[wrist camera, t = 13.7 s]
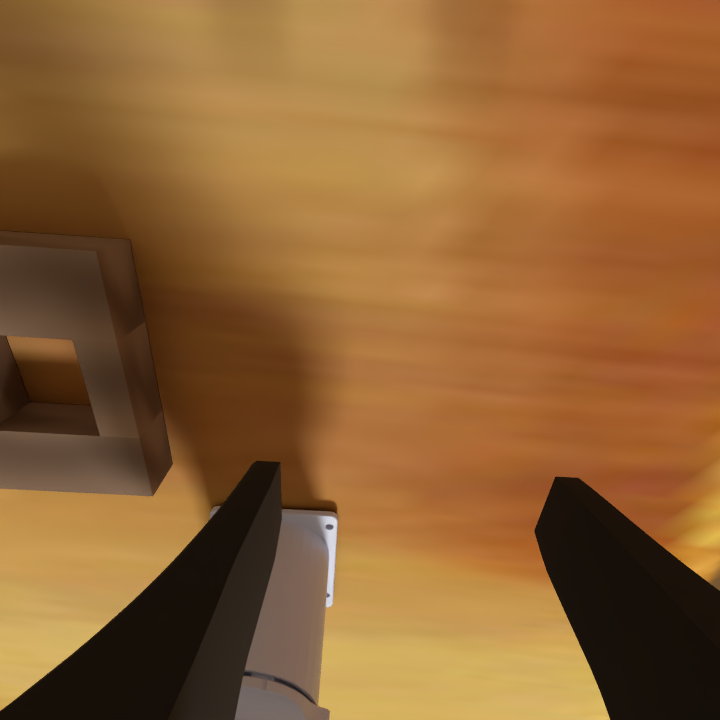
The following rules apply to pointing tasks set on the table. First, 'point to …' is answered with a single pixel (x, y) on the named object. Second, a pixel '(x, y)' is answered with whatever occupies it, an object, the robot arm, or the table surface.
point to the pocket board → (97, 362)
